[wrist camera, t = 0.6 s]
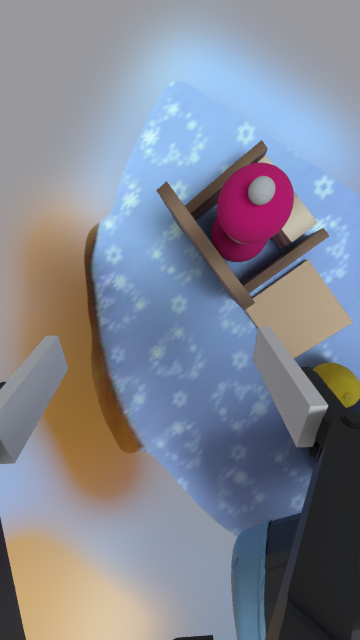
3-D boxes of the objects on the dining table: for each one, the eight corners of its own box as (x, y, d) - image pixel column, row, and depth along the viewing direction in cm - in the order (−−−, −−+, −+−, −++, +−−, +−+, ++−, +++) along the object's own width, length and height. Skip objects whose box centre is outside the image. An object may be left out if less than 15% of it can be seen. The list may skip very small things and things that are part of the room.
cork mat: (349, 321, 35) (352, 322, 34) (283, 362, 37) (284, 364, 36) (306, 260, 34) (308, 259, 33) (241, 305, 37) (242, 306, 36)
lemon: (294, 366, 37) (316, 389, 29) (329, 349, 36) (361, 368, 28) (312, 396, 37) (338, 426, 29) (347, 380, 36) (383, 407, 28)
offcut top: (308, 228, 31) (317, 222, 28) (285, 246, 32) (292, 242, 29) (261, 167, 31) (265, 155, 28) (238, 186, 32) (241, 176, 29)
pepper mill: (201, 235, 36) (187, 179, 16) (242, 202, 34) (279, 96, 15) (230, 274, 36) (250, 265, 16) (271, 243, 35) (347, 192, 15)
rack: (312, 242, 34) (379, 216, 20) (233, 299, 37) (244, 310, 23) (254, 160, 33) (283, 76, 20) (178, 225, 36) (156, 190, 22)
